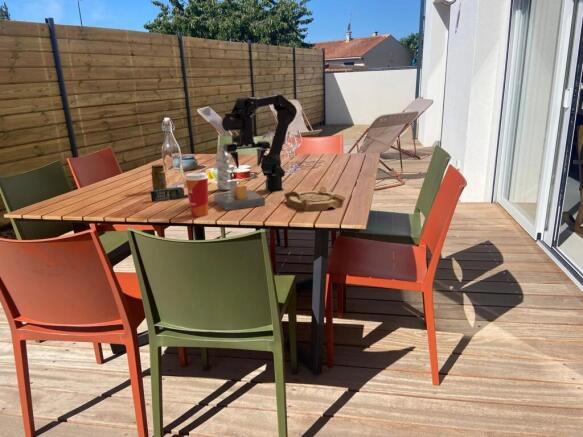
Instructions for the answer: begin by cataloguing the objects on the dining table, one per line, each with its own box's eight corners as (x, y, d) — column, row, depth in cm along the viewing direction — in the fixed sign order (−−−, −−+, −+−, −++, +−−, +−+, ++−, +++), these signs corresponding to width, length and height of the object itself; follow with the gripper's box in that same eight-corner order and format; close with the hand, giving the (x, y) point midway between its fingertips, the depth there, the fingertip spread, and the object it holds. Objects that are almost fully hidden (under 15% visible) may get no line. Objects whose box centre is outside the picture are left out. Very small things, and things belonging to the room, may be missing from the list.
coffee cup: (190, 212, 163) (186, 172, 159) (212, 211, 164) (209, 171, 160) (186, 218, 155) (182, 176, 151) (210, 217, 156) (206, 175, 152)
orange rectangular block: (247, 205, 170) (246, 185, 168) (239, 206, 169) (238, 186, 167) (244, 204, 173) (243, 184, 171) (237, 205, 172) (235, 185, 170)
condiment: (167, 189, 204) (164, 163, 201) (169, 192, 196) (166, 166, 193) (151, 190, 202) (148, 164, 198) (152, 194, 194) (149, 167, 191)
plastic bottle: (229, 191, 195) (226, 146, 190) (215, 191, 197) (211, 146, 191) (234, 188, 201) (231, 145, 196) (220, 188, 203) (217, 145, 197)
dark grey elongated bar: (150, 191, 179) (187, 186, 185) (149, 190, 181) (185, 185, 187) (152, 203, 180) (188, 197, 186) (151, 201, 183) (186, 196, 189)
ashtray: (285, 197, 184) (284, 186, 182) (341, 196, 183) (341, 185, 181) (282, 212, 161) (282, 199, 160) (347, 211, 160) (347, 198, 159)
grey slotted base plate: (251, 196, 185) (250, 178, 183) (265, 205, 171) (264, 185, 169) (214, 201, 178) (212, 182, 176) (225, 210, 164) (224, 189, 162)
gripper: (260, 126, 189) (262, 162, 194) (218, 129, 182) (221, 166, 186) (270, 128, 180) (271, 166, 184) (226, 130, 172) (228, 170, 177)
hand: (248, 166), depth 183 cm, fingers open, 9 cm apart
